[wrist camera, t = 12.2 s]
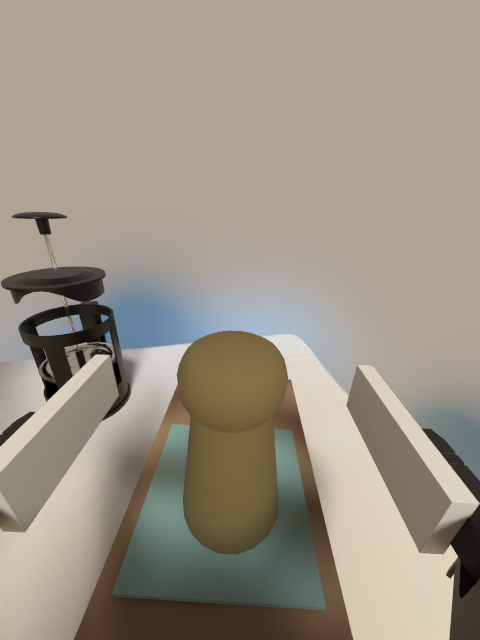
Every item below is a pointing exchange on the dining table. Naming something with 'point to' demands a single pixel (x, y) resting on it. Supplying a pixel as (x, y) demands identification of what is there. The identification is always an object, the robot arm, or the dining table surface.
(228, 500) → the cork
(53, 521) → the dining table surface
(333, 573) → the wooden block
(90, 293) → the french press
